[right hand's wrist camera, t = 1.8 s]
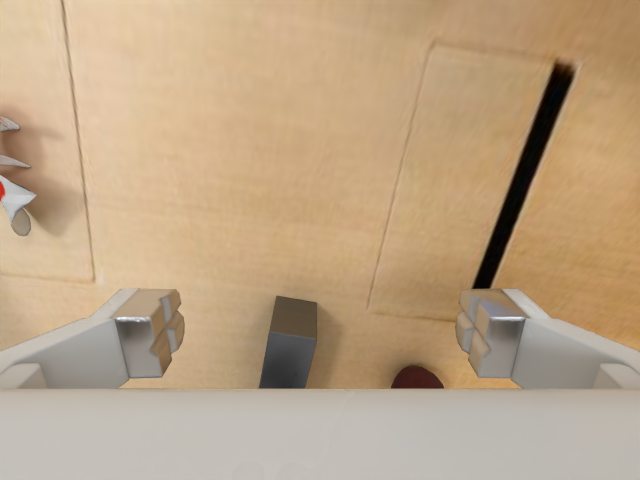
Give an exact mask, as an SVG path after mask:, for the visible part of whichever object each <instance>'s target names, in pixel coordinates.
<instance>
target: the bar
mask: <svg viewBox="0 0 640 480" xmlns="http://www.w3.org/2000/svg"><path fill="white" fill-rule="evenodd" d="M316 341H317V303H315V302H310V301H304V300H298V299H292V298H287V297H281V296H277V297H276V301H275V306H274V311H273V316H272V321H271V326H270V331H269V336H268V341H267V347H266V352H265V358H264V363H263V369H262V374H261V380H260V385H259V389H305V386H306V382H307V378H308V374H309V370H310V366H311V361H312V357H313V353H314V349H315V345H316Z"/></svg>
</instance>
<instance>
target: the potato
mask: <svg viewBox="0 0 640 480" xmlns="http://www.w3.org/2000/svg"><path fill="white" fill-rule="evenodd" d="M391 389H444V387H443V384H442V383H441V382H440V380H439V379H438V378H437V377H436V376H435V375H434V374H433V373H431V372H429V371H428V370H426V369H424V368H422V367H416V366H414V367H407V368H405V369H403V370H402V371H401V372H400V373H399V374H397V376H396V378H395V380H394V382H393V384H392V386H391Z"/></svg>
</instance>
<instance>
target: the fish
mask: <svg viewBox="0 0 640 480" xmlns="http://www.w3.org/2000/svg"><path fill="white" fill-rule="evenodd" d="M19 128H20V127H19V125H17V124H16V123H14V122H13V121H11V120H9V119H7V118H5V117H1V116H0V131H1V132H3V131H8V130H16V129H19ZM0 165H10V166H20V167H28V168H30V166H29V165H26V164H24V163H22V162H20V161H18V160H15V159H13V158H10V157H7V156H3V155H1V154H0ZM35 196H36V194H34V193H33V192H31V191H29V190H28V189H26V188H24V187H22V186H20V185H18V184H15V183H13V182H11V181H9V180H7V179H6V178H4V177H2V176H1V175H0V201H1V203H2V204H3V206H4V208H5V209H6V211H7V213H8V216H9V218H10V221H11V227H12V228H13V230H14V231H15V232H16V233H17V234H18V235H20V236H27V235H28V233H29V231H30V230H31V223H30V218H29V216H28V215H27V213H26V212H25V211H24V209H23V207H24V206H26V205H27V204H28V203H29V202H30V201H31V200H32V199H33V198H34V197H35Z"/></svg>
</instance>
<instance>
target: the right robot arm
mask: <svg viewBox="0 0 640 480" xmlns="http://www.w3.org/2000/svg"><path fill="white" fill-rule="evenodd" d="M180 304H181V300H180V295H179V292H178V291H177V290H176V289H140V288H134V289H120V290H119V291H118V292H117V293H116V294H115V295H114V296H112V297H111V298H110V299H109V300H108V301H107V302H106V303H105V304H104V305H103V306H101V307H100V308H99V309H98V310H97V311H96V312H95V313H94V314H93V315H91V316H90V317H89V318H82V319H80V320H77V321H75V322H72V323H70V324H67V325H65V326H62V327H60V328H57V329H55V330H52V331H50V332H47V333H45V334H42V335H40V336H37V337H35V338H32V339H30V340H27V341H25V342H22V343H20V344H17V345H15V346H12V347H9V348H7V349H4V350H2V351H0V480H640V351H638V350H635V349H633V348H630V347H628V346H625V345H623V344H620V343H618V342H615V341H613V340H610V339H608V338H605V337H603V336H600V335H598V334H595V333H593V332H590V331H588V330H585V329H583V328H580V327H578V326H575V325H573V324H570V323H568V322H565V321H563V320H560V319H558V318H551V317H550V316H549V315H547V314H546V313H545V312H544V311H543V310H542V309H541V308H540V307H539V306H538V305H536V304H535V303H534V302H533V301H532V300H531V299H530V298H529V297H528V296H527V295H525V294H524V293H523V292H522V291H521V290H520V289H516V288H510V289H466V290H462V292H461V295H460V299H459V304H460V306H461V308H462V309H463V311H462V312H461V313H460V314H459V315H458V316H457V318H456V326H455V329H456V337H457V340H458V344H459V345H460V347H461V349H462V350H464V351H465V352H467V353H468V354H469V358H468V361H469V363H470V364H471V366H472V368H473V369H474V371H475V373H476V374H477V376H478V378H511V380H512V381H513V382H515V383H516V384H517V385H519V386H520V387H521V388H523V389H117V388H119V387H120V386H122V385H123V384H124V383H126V382H127V381H128V380H129V378H161V377H162V376H163V375H164V373H165V371H166V369H167V368H168V366H169V364H170V363H171V361H172V358H171V354H172V353H173V352H175V351H176V350H178V349H179V347H180V345H181V343H182V341H183V336H184V318H183V316H182V315H181V314H180V313H179V312H178V311H177V309H178V308H179V306H180Z"/></svg>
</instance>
